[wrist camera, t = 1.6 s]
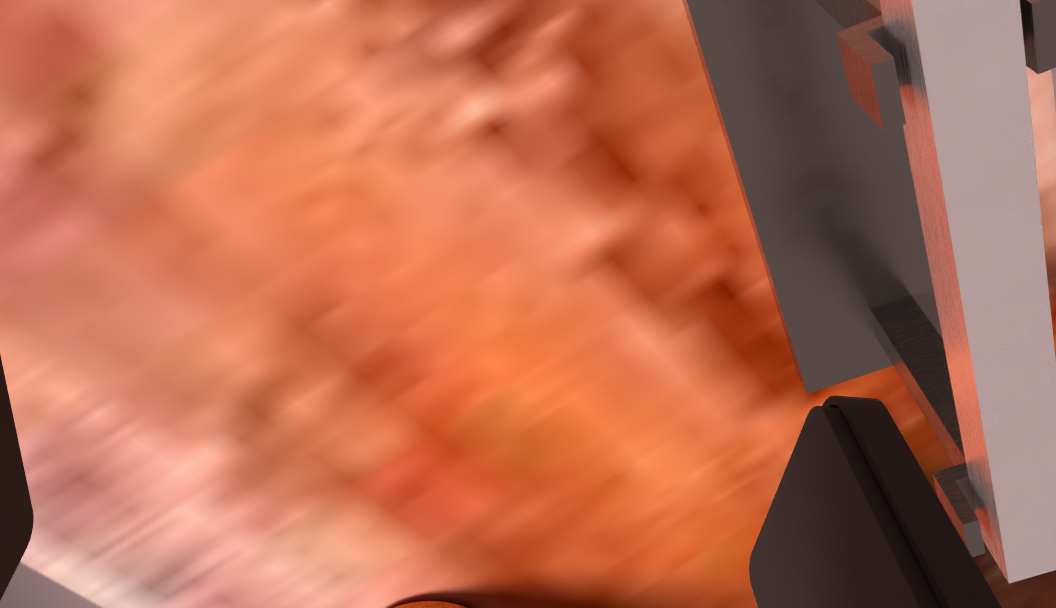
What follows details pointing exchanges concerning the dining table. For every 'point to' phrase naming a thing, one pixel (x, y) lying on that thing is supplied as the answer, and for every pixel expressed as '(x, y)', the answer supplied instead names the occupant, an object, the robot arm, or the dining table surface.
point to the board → (1055, 81)
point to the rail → (985, 257)
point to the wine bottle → (430, 605)
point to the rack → (841, 195)
